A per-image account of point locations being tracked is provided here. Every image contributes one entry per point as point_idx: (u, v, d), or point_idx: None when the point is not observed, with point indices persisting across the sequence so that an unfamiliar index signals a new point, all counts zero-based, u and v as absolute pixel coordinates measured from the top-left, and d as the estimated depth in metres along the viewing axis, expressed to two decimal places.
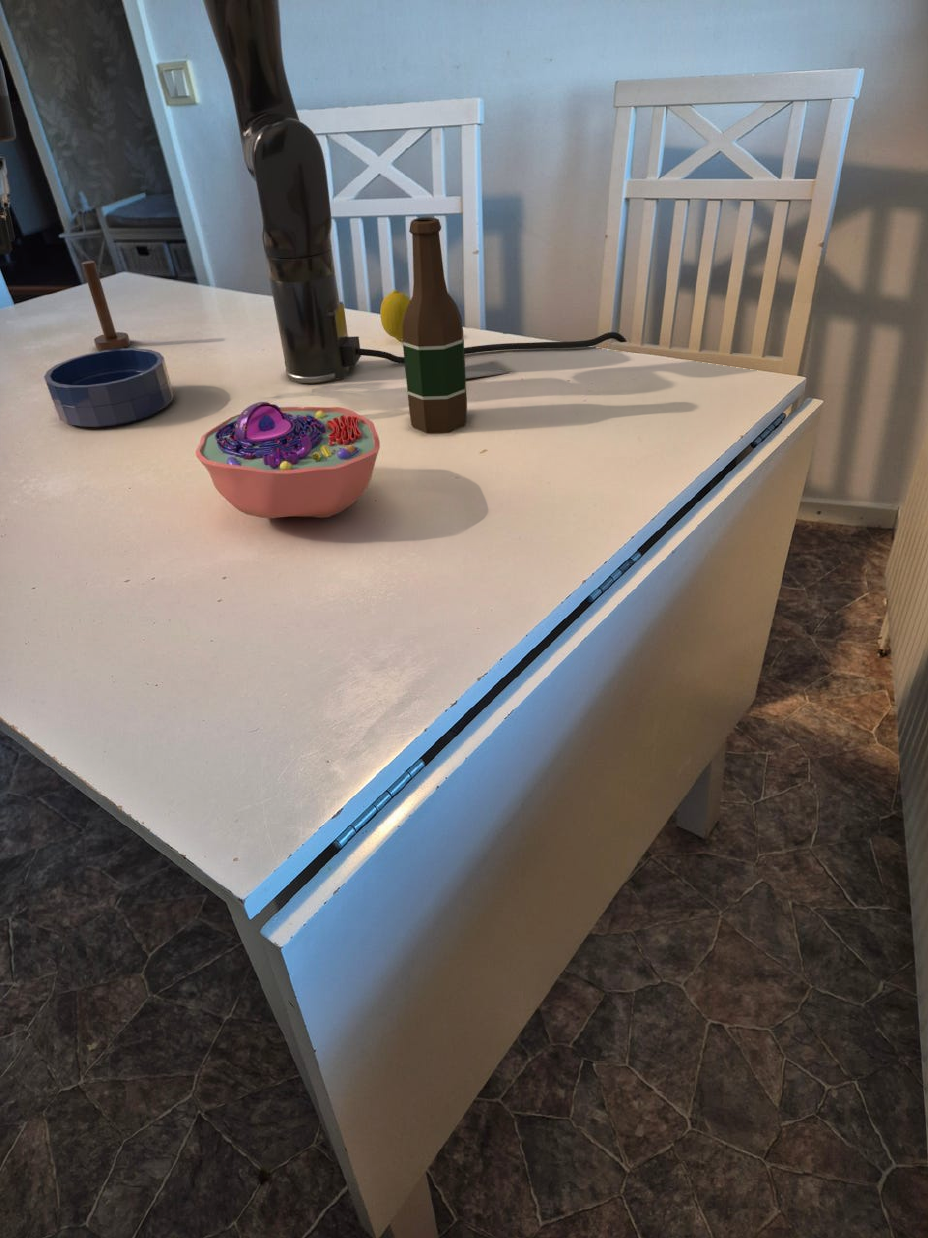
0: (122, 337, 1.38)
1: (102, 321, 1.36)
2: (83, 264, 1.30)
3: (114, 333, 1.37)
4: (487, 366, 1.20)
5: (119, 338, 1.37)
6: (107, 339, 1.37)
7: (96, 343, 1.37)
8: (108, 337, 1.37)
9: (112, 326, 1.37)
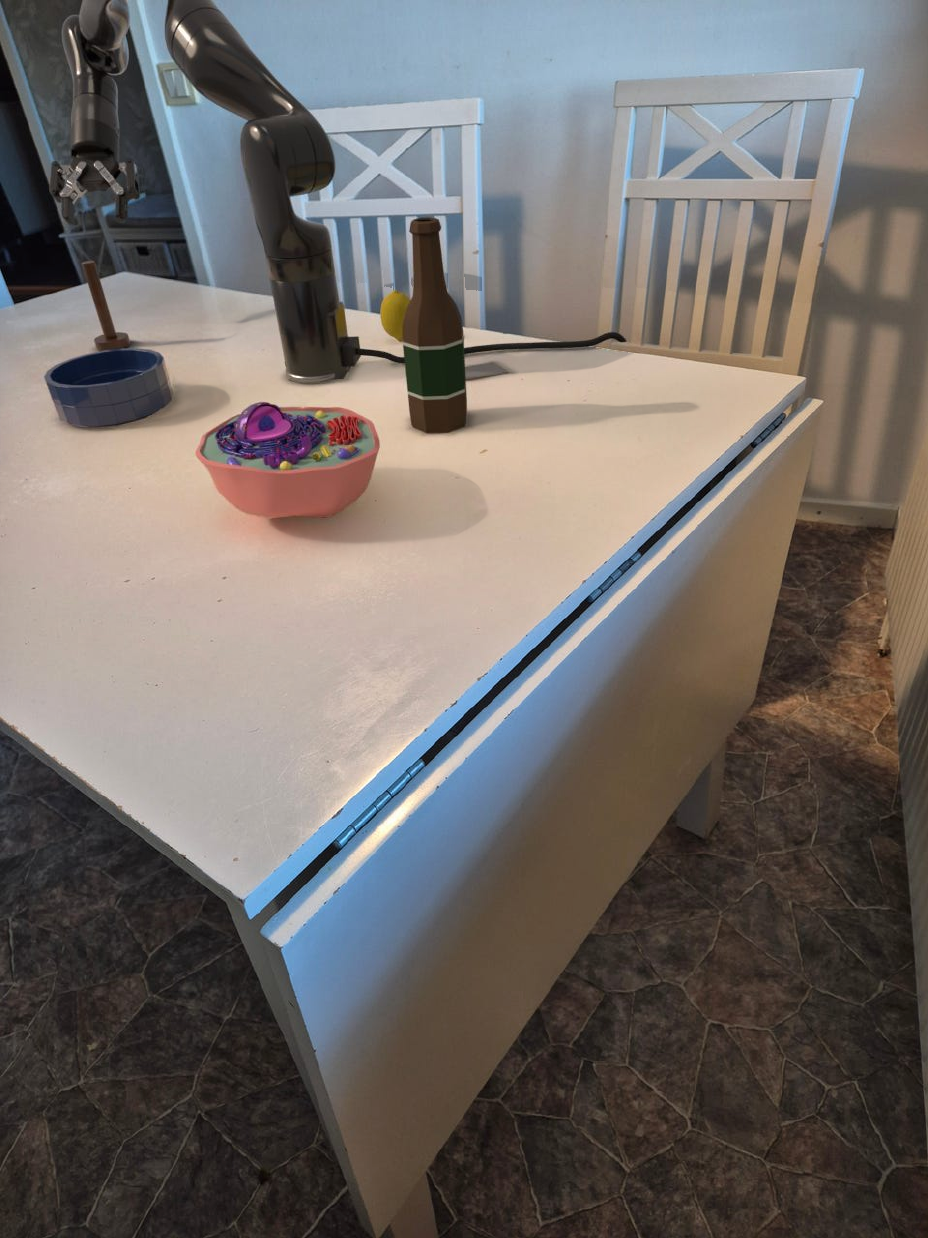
0: (122, 337, 1.38)
1: (102, 321, 1.36)
2: (83, 264, 1.30)
3: (114, 333, 1.37)
4: (487, 366, 1.20)
5: (119, 338, 1.37)
6: (107, 339, 1.37)
7: (96, 343, 1.37)
8: (108, 337, 1.37)
9: (112, 326, 1.37)
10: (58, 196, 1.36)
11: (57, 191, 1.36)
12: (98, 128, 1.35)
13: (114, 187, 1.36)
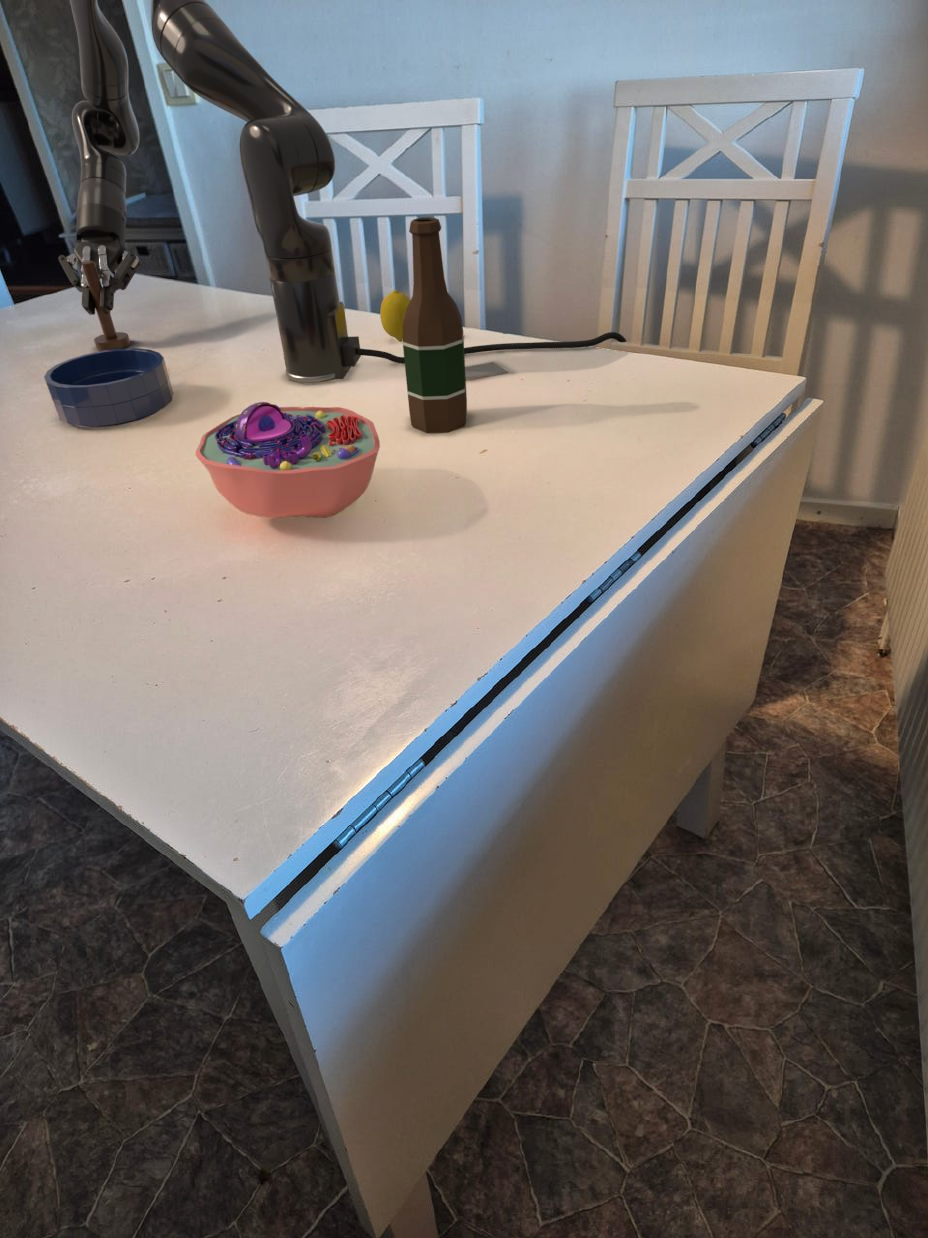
0: (122, 337, 1.38)
1: (102, 321, 1.36)
2: (83, 264, 1.30)
3: (114, 333, 1.37)
4: (487, 366, 1.20)
5: (119, 338, 1.37)
6: (107, 339, 1.37)
7: (96, 343, 1.37)
8: (108, 337, 1.37)
9: (112, 326, 1.37)
10: (79, 286, 1.34)
11: (78, 281, 1.34)
12: (103, 213, 1.33)
13: (103, 276, 1.33)
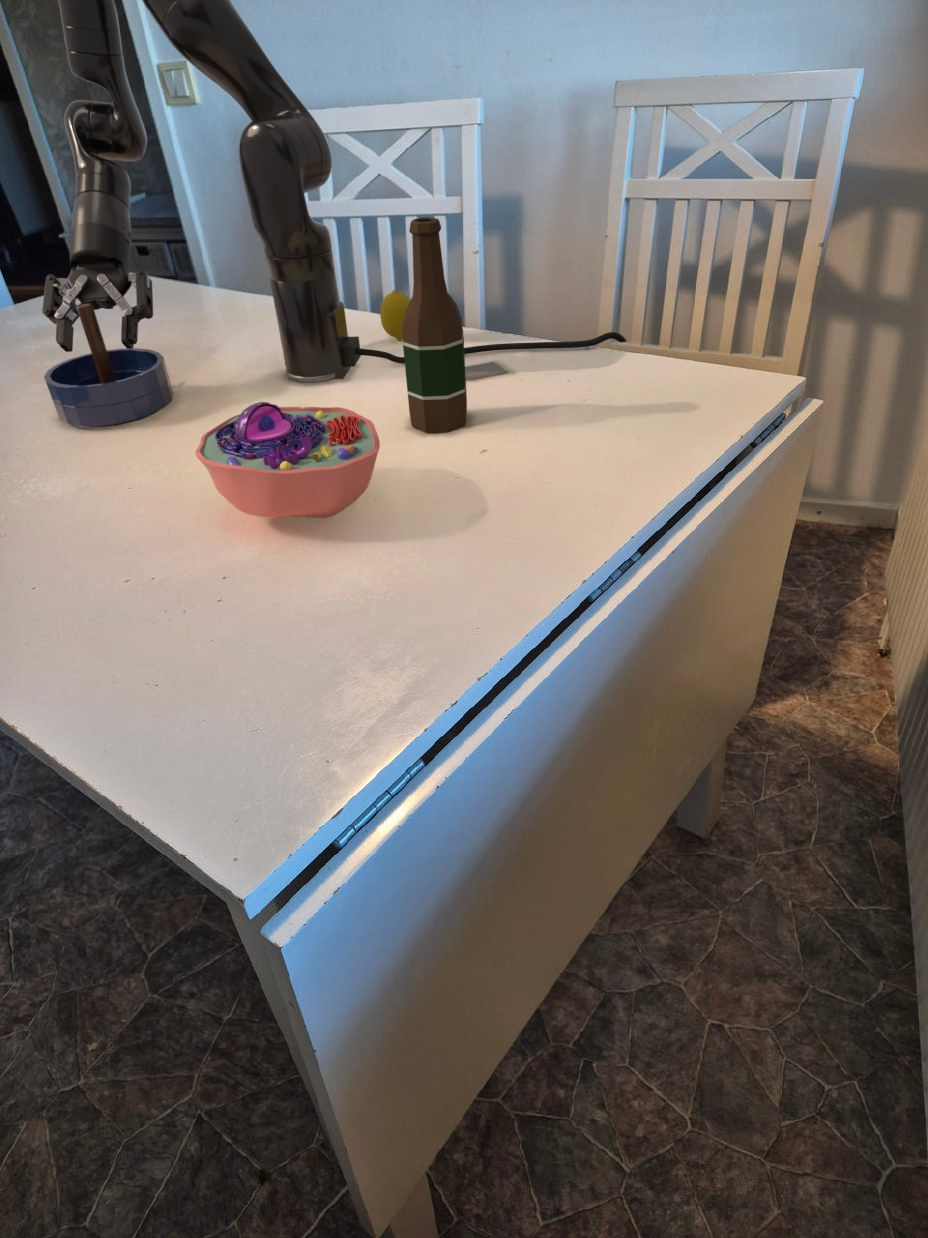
0: None
1: (101, 375, 1.11)
2: (78, 308, 1.06)
3: None
4: (487, 366, 1.20)
5: None
6: None
7: None
8: None
9: (114, 380, 1.13)
10: (53, 317, 1.09)
11: (52, 311, 1.09)
12: (103, 234, 1.08)
13: (121, 306, 1.09)
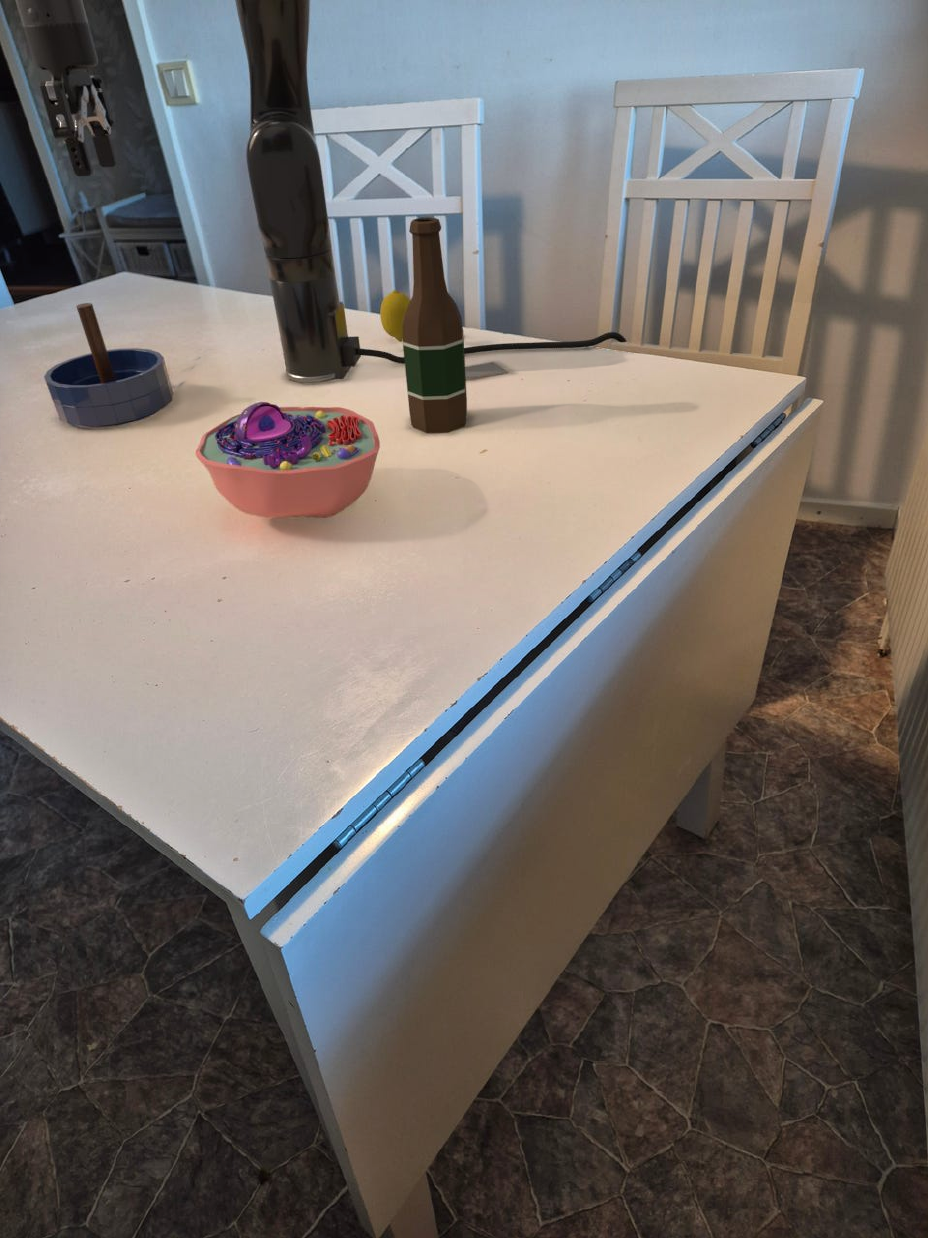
0: None
1: (101, 375, 1.11)
2: (78, 308, 1.06)
3: None
4: (487, 366, 1.20)
5: None
6: None
7: None
8: None
9: (114, 380, 1.13)
10: (73, 138, 1.02)
11: None
12: None
13: (105, 123, 1.09)
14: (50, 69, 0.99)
